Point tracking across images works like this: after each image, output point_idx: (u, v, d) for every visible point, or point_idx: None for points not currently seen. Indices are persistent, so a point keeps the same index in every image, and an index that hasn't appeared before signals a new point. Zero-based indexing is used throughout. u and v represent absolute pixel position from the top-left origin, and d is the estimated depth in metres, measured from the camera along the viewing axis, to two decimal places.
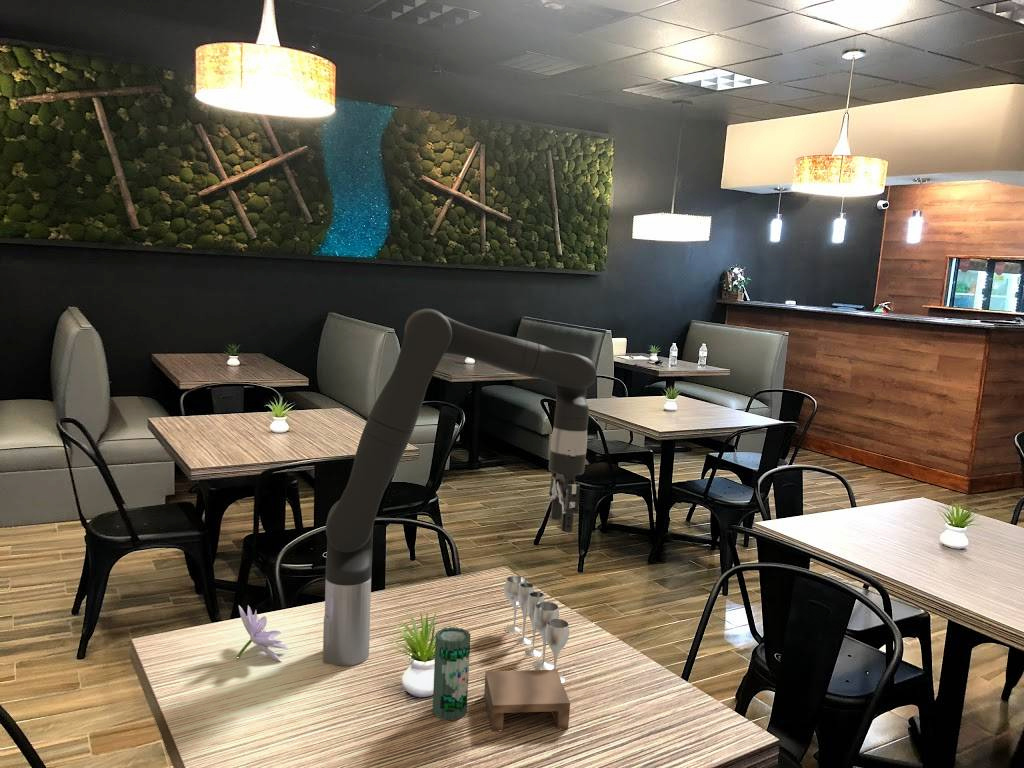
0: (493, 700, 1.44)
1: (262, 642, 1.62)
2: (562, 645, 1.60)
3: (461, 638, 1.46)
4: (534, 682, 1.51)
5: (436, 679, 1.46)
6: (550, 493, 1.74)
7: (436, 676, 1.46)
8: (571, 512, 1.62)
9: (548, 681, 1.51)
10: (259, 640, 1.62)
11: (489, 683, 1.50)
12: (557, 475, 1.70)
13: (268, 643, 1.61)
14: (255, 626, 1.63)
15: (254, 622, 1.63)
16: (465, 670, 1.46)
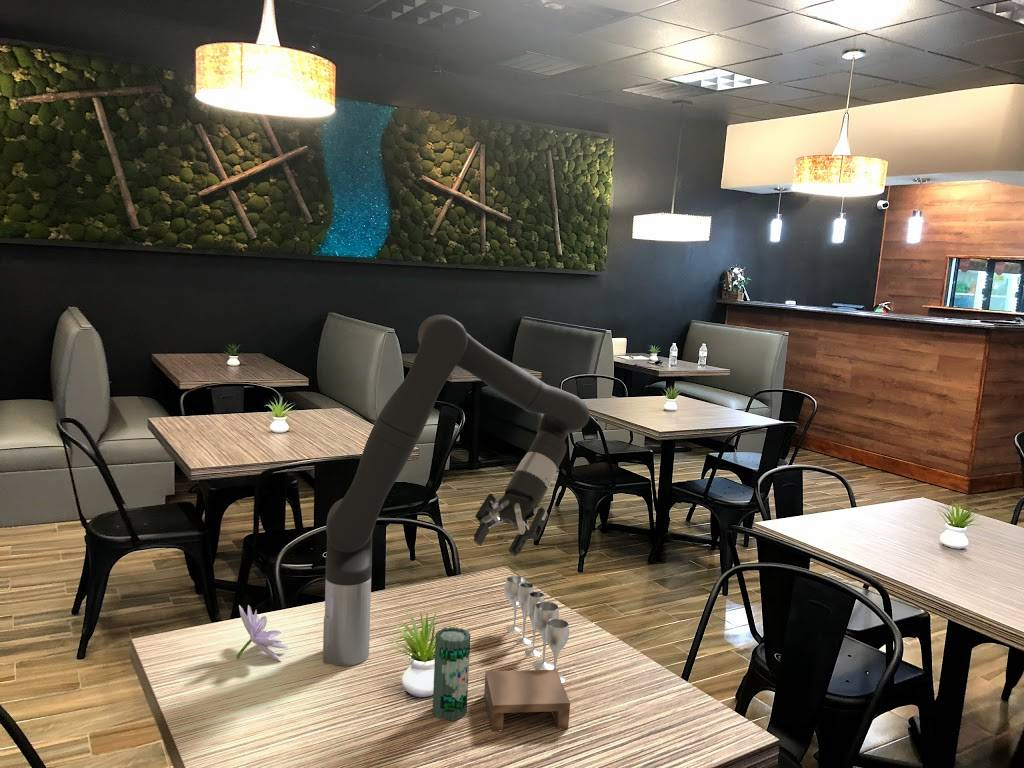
0: (493, 700, 1.44)
1: (262, 642, 1.62)
2: (562, 645, 1.60)
3: (461, 638, 1.46)
4: (534, 682, 1.51)
5: (436, 679, 1.46)
6: (479, 515, 1.60)
7: (436, 676, 1.46)
8: (534, 535, 1.53)
9: (548, 681, 1.51)
10: (259, 640, 1.62)
11: (489, 683, 1.50)
12: (506, 499, 1.60)
13: (268, 643, 1.61)
14: (255, 626, 1.63)
15: (254, 622, 1.63)
16: (465, 670, 1.46)
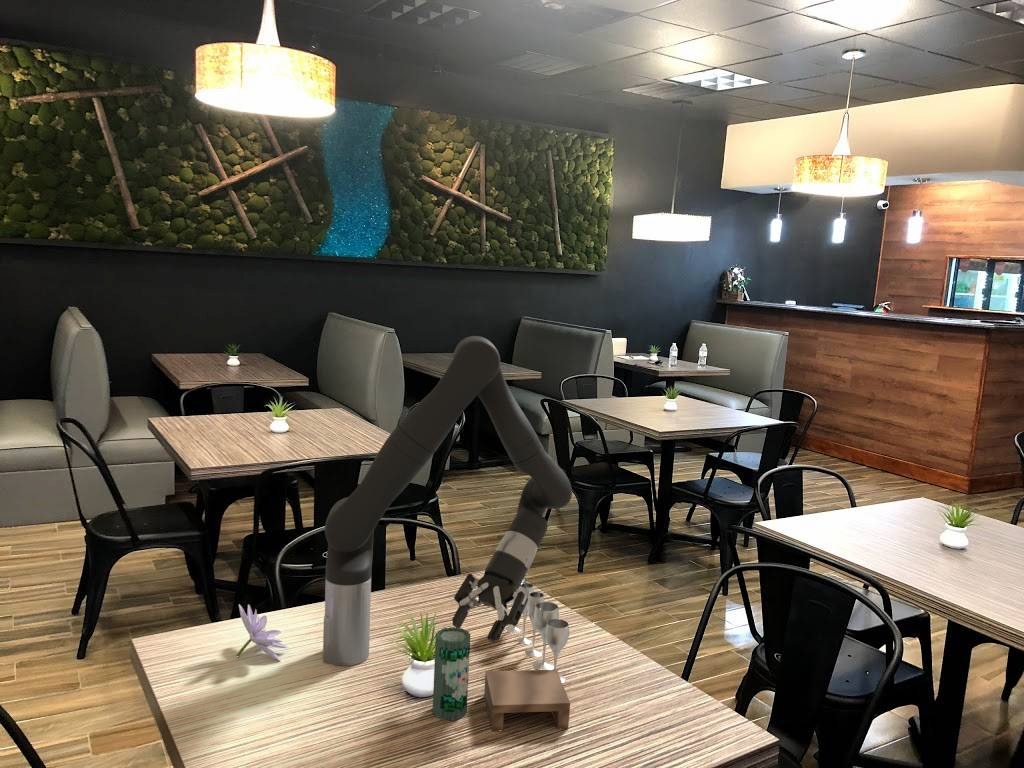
0: (493, 700, 1.44)
1: (261, 641, 1.62)
2: (562, 645, 1.60)
3: (461, 638, 1.46)
4: (534, 682, 1.51)
5: (436, 679, 1.46)
6: (458, 597, 1.57)
7: (436, 676, 1.46)
8: (513, 621, 1.50)
9: (548, 681, 1.51)
10: (258, 639, 1.62)
11: (489, 683, 1.50)
12: (485, 580, 1.57)
13: (267, 642, 1.61)
14: (255, 625, 1.63)
15: (253, 622, 1.63)
16: (465, 670, 1.46)
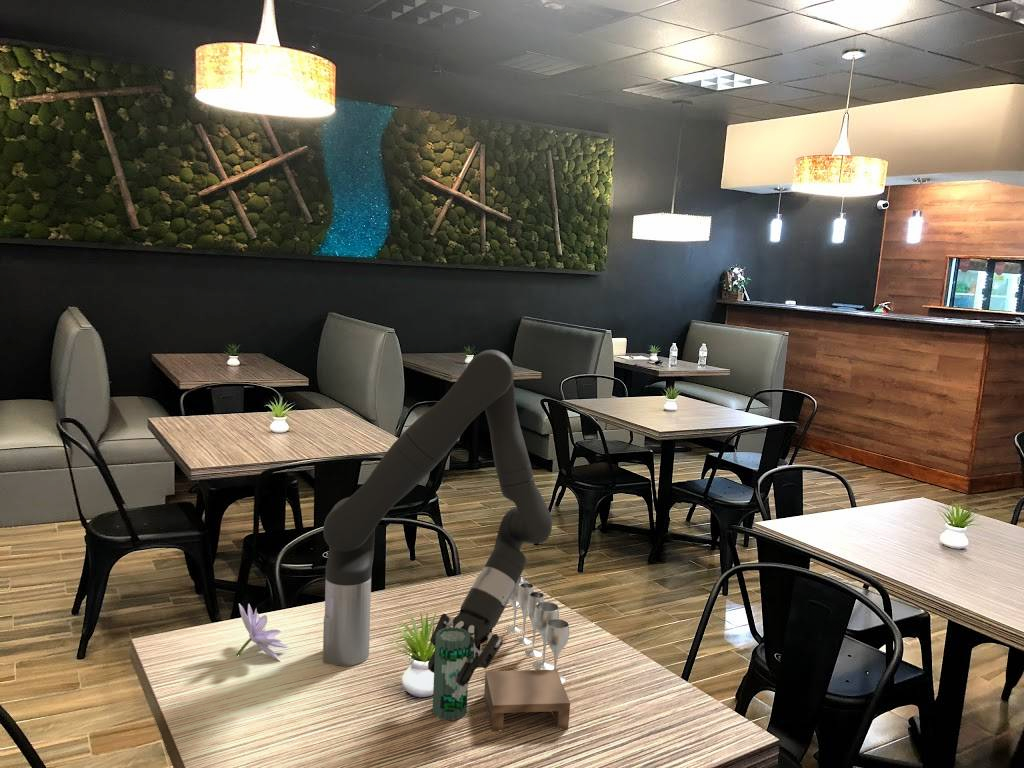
0: (493, 700, 1.44)
1: (261, 641, 1.62)
2: (562, 645, 1.60)
3: (461, 638, 1.46)
4: (534, 682, 1.51)
5: (436, 679, 1.46)
6: (434, 639, 1.51)
7: (436, 676, 1.46)
8: (483, 664, 1.45)
9: (548, 681, 1.51)
10: (258, 639, 1.62)
11: (489, 683, 1.50)
12: (460, 618, 1.52)
13: (266, 642, 1.61)
14: (254, 625, 1.63)
15: (253, 621, 1.63)
16: None
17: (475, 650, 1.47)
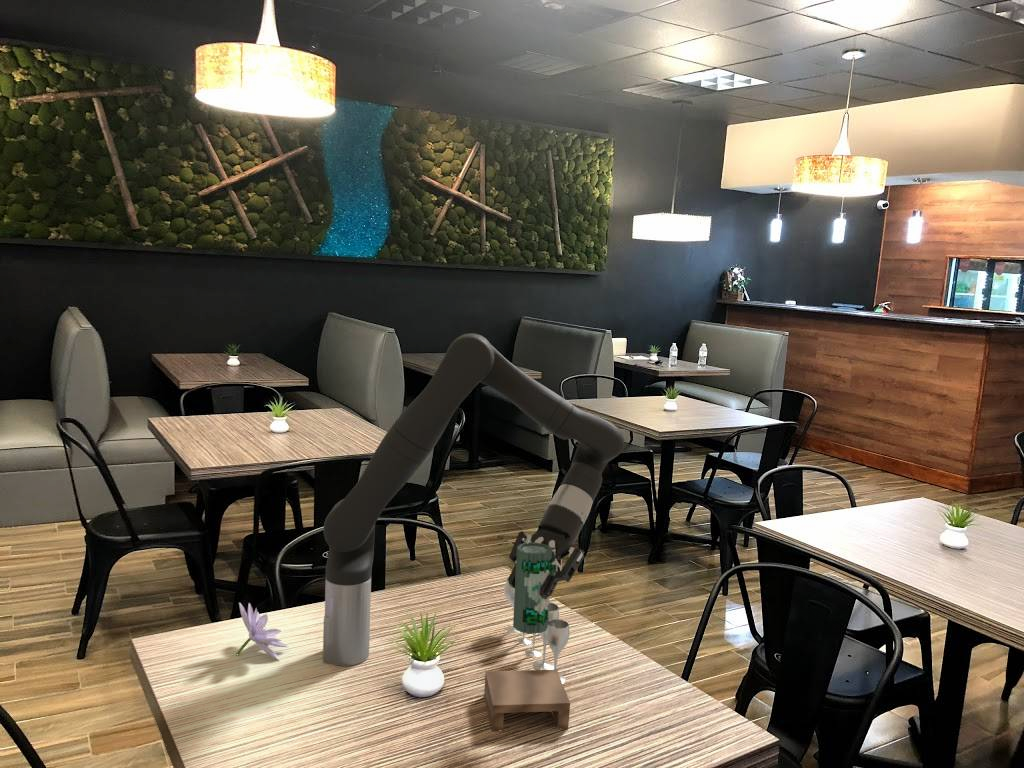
0: (493, 700, 1.44)
1: (260, 640, 1.62)
2: (562, 645, 1.60)
3: (543, 551, 1.45)
4: (534, 682, 1.51)
5: (518, 593, 1.45)
6: (513, 555, 1.50)
7: (518, 590, 1.45)
8: (566, 577, 1.44)
9: (548, 681, 1.51)
10: (257, 638, 1.63)
11: (489, 683, 1.50)
12: (539, 534, 1.51)
13: (266, 641, 1.61)
14: (254, 624, 1.64)
15: (253, 620, 1.63)
16: None
17: (557, 564, 1.45)
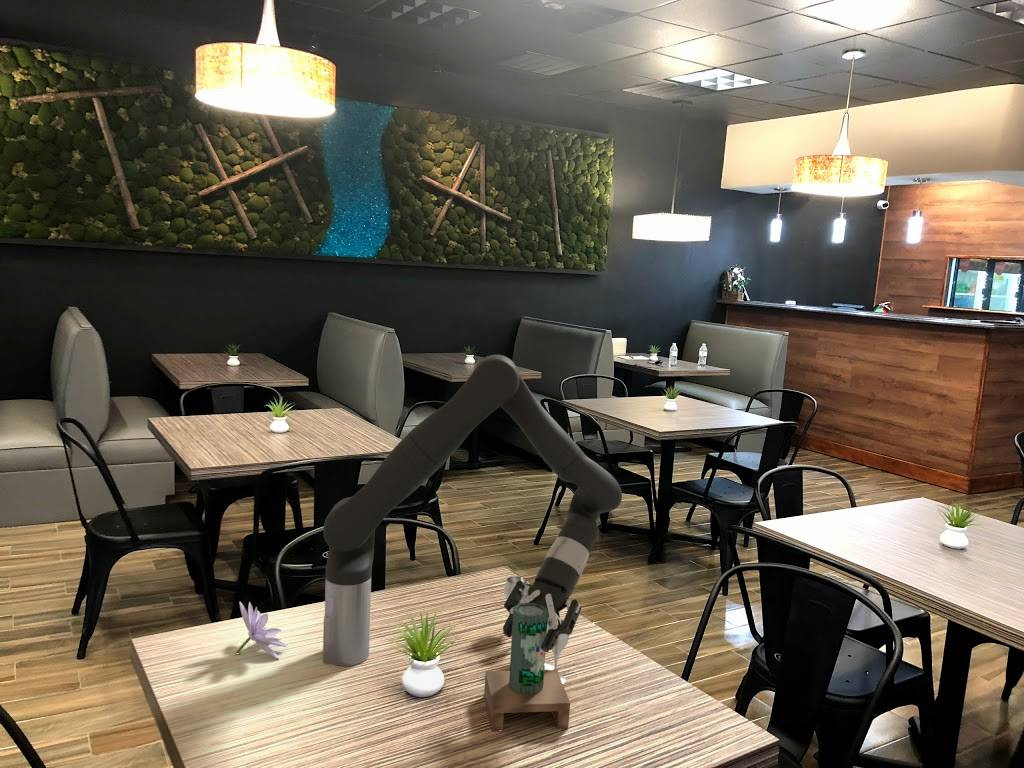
0: (493, 700, 1.44)
1: (260, 639, 1.63)
2: (563, 646, 1.59)
3: (539, 613, 1.47)
4: None
5: (514, 654, 1.47)
6: (508, 605, 1.52)
7: (514, 651, 1.47)
8: (567, 630, 1.45)
9: (548, 681, 1.51)
10: (257, 637, 1.63)
11: (489, 683, 1.50)
12: (536, 588, 1.52)
13: (265, 640, 1.62)
14: (254, 623, 1.64)
15: (252, 619, 1.64)
16: None
17: (556, 617, 1.47)
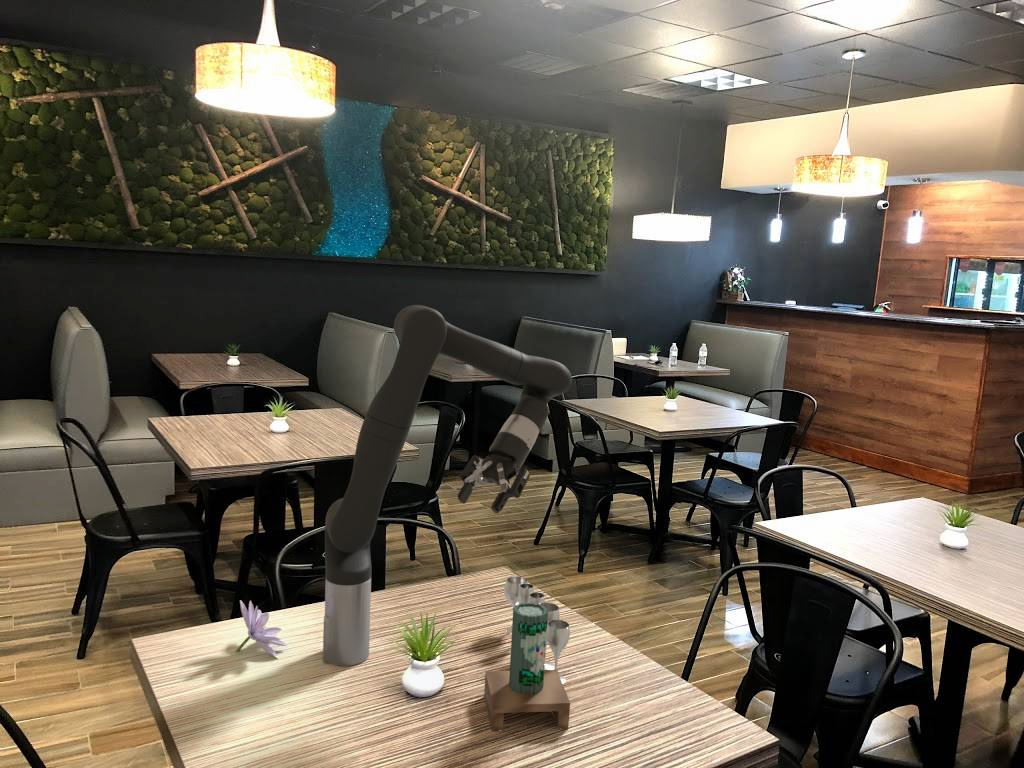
0: (493, 700, 1.44)
1: (259, 638, 1.63)
2: (563, 646, 1.59)
3: (539, 613, 1.47)
4: None
5: (514, 654, 1.47)
6: (463, 475, 1.64)
7: (514, 651, 1.47)
8: (516, 493, 1.57)
9: (548, 681, 1.51)
10: (256, 636, 1.64)
11: (489, 683, 1.50)
12: (489, 460, 1.65)
13: (264, 639, 1.62)
14: (253, 622, 1.64)
15: (252, 618, 1.64)
16: (543, 644, 1.47)
17: (506, 482, 1.59)
